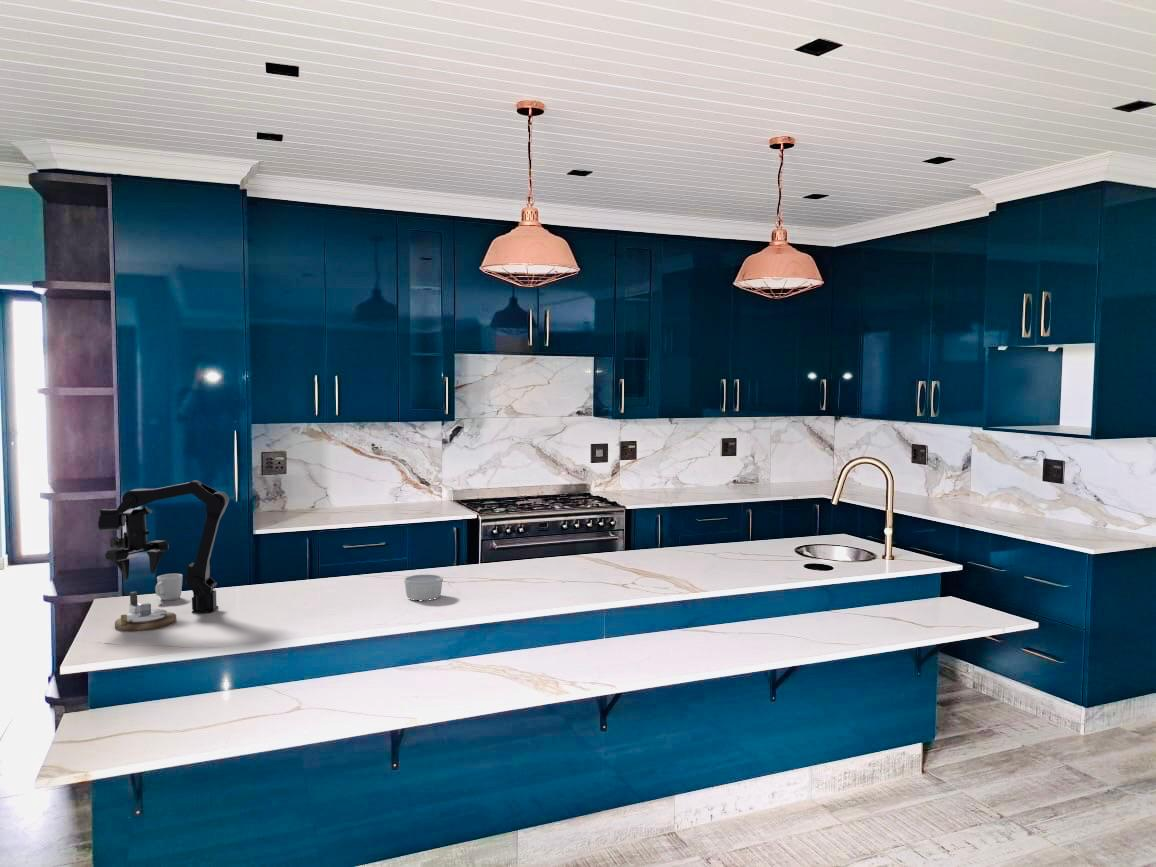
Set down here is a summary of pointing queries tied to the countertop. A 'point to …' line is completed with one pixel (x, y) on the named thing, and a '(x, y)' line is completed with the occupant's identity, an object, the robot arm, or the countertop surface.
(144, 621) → the light grey irregular piece
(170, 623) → the plinth
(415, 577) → the ramekin
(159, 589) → the cup
